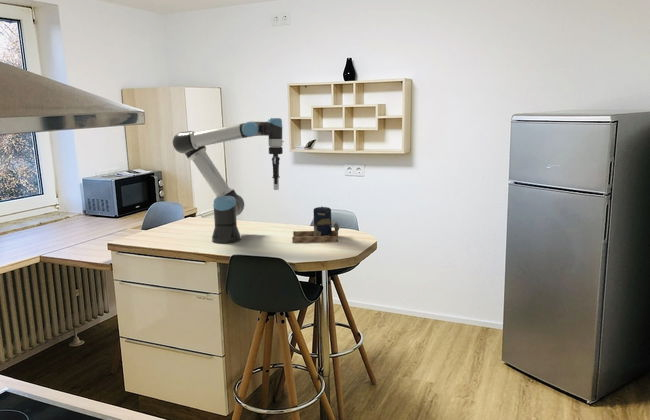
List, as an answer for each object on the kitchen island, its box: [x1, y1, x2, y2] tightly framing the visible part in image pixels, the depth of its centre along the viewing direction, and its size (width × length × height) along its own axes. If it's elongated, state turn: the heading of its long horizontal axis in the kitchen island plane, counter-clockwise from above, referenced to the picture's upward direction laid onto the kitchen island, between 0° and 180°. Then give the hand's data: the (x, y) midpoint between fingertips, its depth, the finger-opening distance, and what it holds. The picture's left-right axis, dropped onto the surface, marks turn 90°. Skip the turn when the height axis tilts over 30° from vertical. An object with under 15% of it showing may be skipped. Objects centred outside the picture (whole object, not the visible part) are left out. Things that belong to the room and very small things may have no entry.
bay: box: [291, 220, 340, 244], centre depth 282 cm, size 25×15×8 cm, turn 92°
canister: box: [313, 206, 333, 236], centre depth 281 cm, size 10×10×18 cm
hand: (276, 189), depth 289 cm, fingers closed
